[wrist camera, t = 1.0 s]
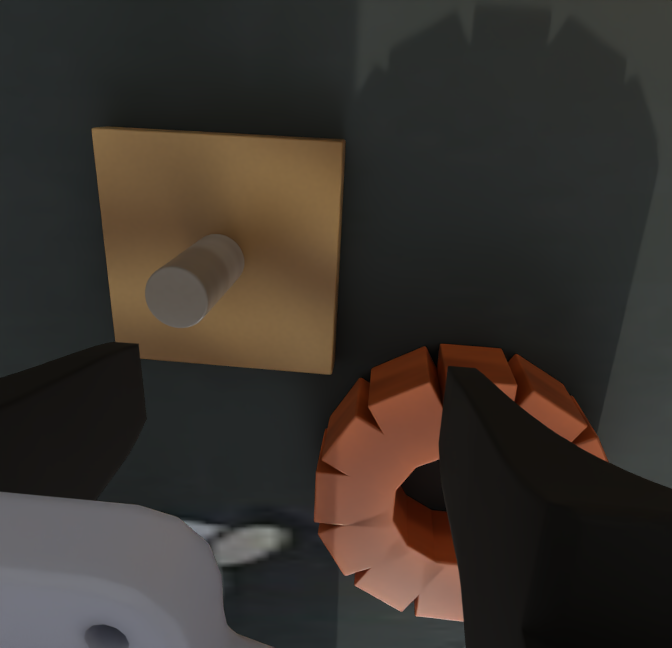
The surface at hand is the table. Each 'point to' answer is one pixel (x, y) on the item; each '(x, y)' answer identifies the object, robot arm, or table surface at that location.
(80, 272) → the table surface
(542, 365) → the table surface
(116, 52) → the table surface
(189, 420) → the table surface
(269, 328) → the rack
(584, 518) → the robot arm
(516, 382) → the ring
